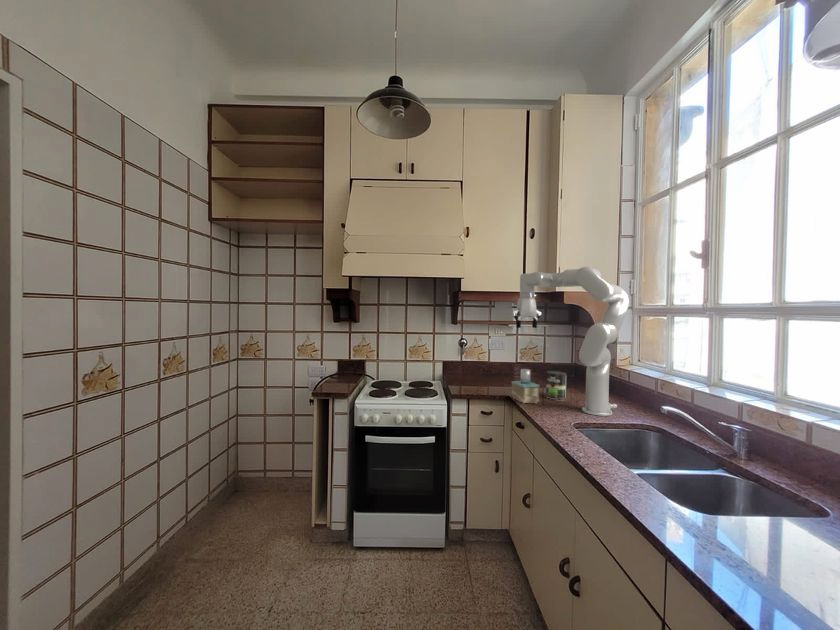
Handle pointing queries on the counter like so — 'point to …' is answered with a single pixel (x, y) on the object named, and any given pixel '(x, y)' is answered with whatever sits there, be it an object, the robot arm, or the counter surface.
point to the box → (525, 394)
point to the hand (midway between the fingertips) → (526, 327)
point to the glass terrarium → (556, 384)
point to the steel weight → (525, 376)
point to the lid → (525, 384)
